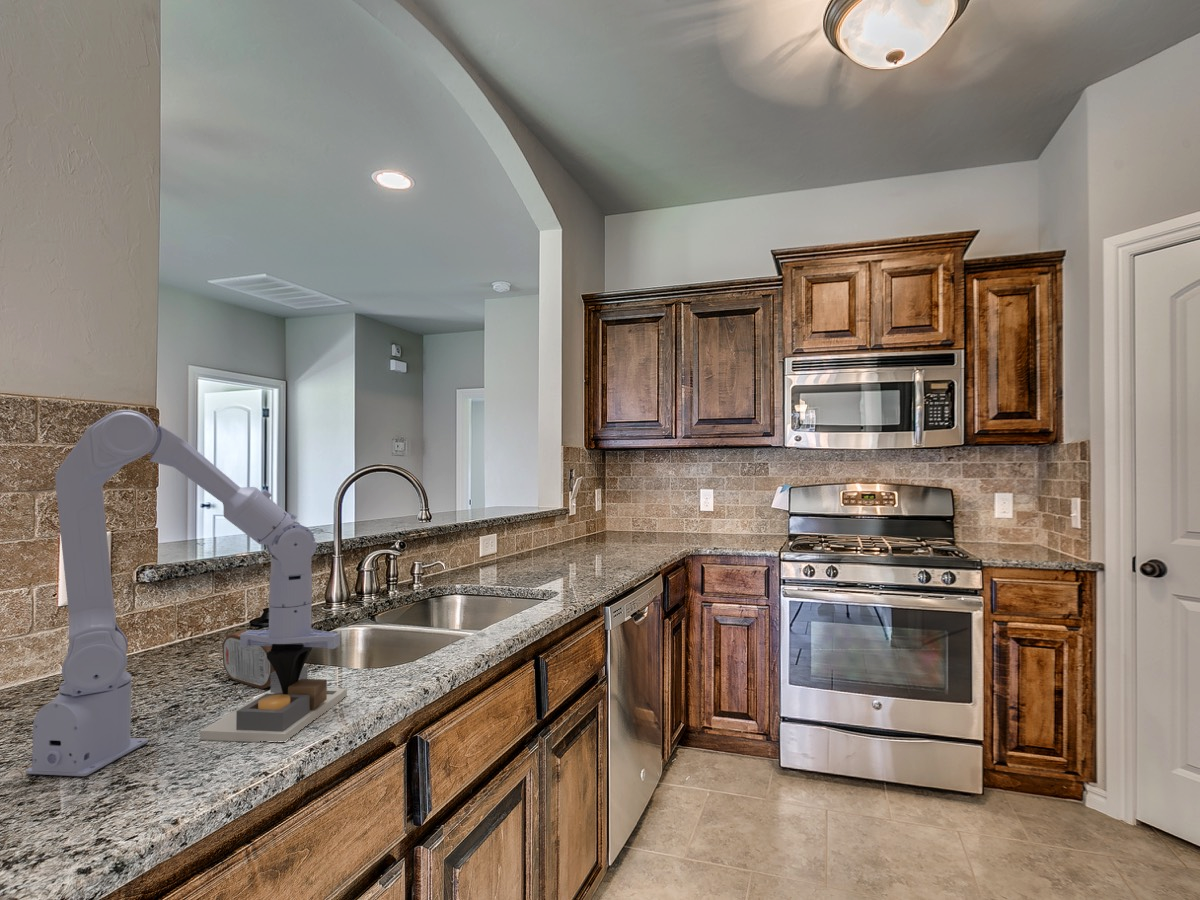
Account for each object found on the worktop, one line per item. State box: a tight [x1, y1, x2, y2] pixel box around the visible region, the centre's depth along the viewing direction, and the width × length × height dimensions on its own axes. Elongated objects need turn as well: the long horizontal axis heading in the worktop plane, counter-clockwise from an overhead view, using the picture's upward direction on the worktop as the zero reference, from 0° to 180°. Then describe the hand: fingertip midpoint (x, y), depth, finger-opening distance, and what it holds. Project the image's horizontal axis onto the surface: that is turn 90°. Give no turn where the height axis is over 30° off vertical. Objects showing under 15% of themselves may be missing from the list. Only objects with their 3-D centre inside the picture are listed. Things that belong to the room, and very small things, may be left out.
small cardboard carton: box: [288, 678, 328, 708], centre depth 94 cm, size 4×4×3 cm
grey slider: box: [269, 666, 308, 693], centre depth 100 cm, size 4×4×3 cm
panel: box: [199, 687, 348, 743], centre depth 93 cm, size 17×12×4 cm
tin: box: [221, 629, 275, 690], centre depth 107 cm, size 15×3×8 cm, turn 59°
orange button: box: [258, 694, 290, 710], centre depth 88 cm, size 4×4×2 cm
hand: (289, 695), depth 94 cm, fingers closed
